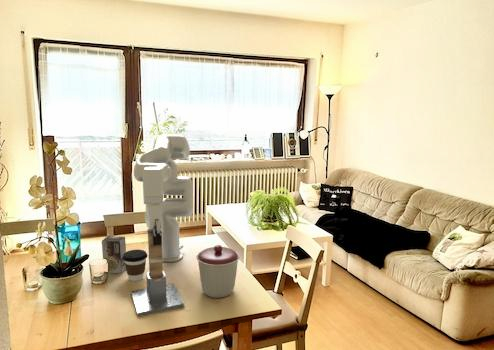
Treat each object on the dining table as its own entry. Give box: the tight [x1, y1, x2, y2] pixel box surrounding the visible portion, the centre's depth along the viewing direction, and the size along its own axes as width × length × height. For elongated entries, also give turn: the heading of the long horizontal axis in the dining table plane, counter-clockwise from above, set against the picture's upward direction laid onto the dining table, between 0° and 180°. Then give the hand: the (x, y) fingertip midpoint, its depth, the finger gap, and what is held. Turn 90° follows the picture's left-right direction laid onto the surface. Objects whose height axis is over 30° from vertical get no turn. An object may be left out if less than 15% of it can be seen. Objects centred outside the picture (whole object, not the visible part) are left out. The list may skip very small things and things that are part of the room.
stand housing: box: [130, 270, 185, 318], centre depth 155 cm, size 18×18×12 cm
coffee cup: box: [122, 249, 148, 282], centre depth 174 cm, size 11×11×12 cm
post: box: [146, 229, 164, 278], centre depth 153 cm, size 5×5×20 cm
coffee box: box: [101, 235, 127, 274], centre depth 182 cm, size 9×6×16 cm
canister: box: [195, 244, 241, 299], centre depth 162 cm, size 18×18×21 cm
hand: (155, 240), depth 152 cm, fingers open, 9 cm apart
